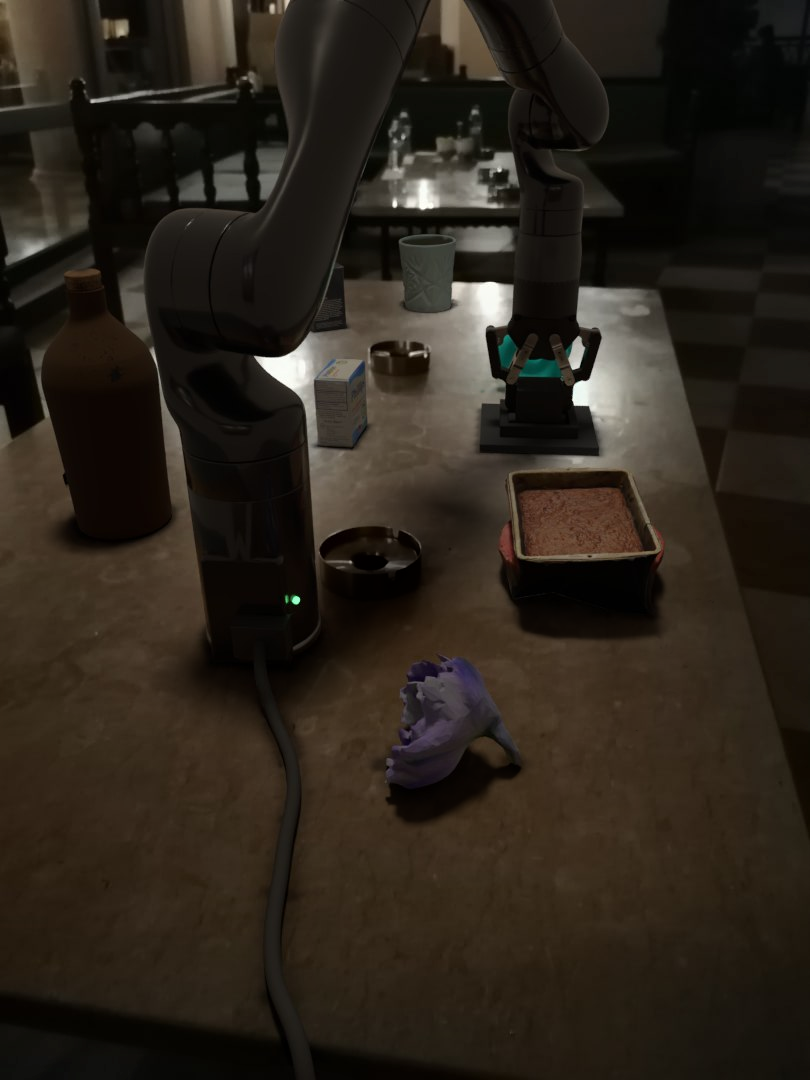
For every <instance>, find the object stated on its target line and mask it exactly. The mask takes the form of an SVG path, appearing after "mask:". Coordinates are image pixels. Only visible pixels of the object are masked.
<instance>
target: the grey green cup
mask: <svg viewBox="0 0 810 1080" xmlns="http://www.w3.org/2000/svg"><path fill="white" fill-rule="evenodd" d="M456 244H457V239H456V238H455V237H453V236H450V235H445V234H433V233H432V234H431V233H430V234H429V233H428V234H414V235H408V236H405V237H402V238H400V239H399V240H398V248H399V249H398V250H399V256H400V265H401V268H402V273H401V274H402V275H401V276H402V285H403V288H404V289H403V295H404V296H403V299H404V306H405V307H404V308H406V309H407V310H408V311H411V312H417V313H440V312H445V311H447V310H450V308H451V307H452V297H453V296H452V295H453V281H454V265H455V254H456V246H457V245H456Z"/></svg>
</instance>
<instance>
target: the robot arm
mask: <svg viewBox="0 0 810 1080" xmlns="http://www.w3.org/2000/svg"><path fill="white" fill-rule="evenodd" d="M462 1H463V3H464V5H465V6H466V7H467V9H468V11H469V13H470V14H471V16H472V18H473V20H474V22H475V24H476V26H477V28H478V29H479V31H480V34H481V36H482V39H483V40H484V43H485V44H486V46H487V49H488V51H489V53H490V55H491V57H492V59H493V61H494V63H495V66H496V68H497V69H498V71H499V73H500V75H501V78H502V79H503V80H504V81H505V82H506V83H507V85H509V86H510V87H512V88H514V89H515V90H514V91H513V93H512V95H511V98H510V101H509V104H508V110H507V130H508V137H509V141H510V147H511V151H512V156H513V160H514V161H513V162H514V166H515V172H516V177H517V183H518V187H519V213H518V214H519V216H518V217H519V218H518V232H517V239H516V245H515V249H514V261H513V269H514V270H513V287H512V288H513V289H512V306H511V307H512V309H511V317H510V319H509V321H508V323H507V324H508V325H507V324H506V325H500V326H494V325H492V324H490V325H487V326H486V328H485V342H486V348H487V355H488V362H489V366H490V373H491V377H492V378H493V379H495V380H501V381H503V382H504V384H505V391H504V399H505V405H506V408H510V413H515V412H516V394H517V378H518V376H519V374H520V372H521V370H522V369H523V368H524V366H525V364H526V362H527V360H528V359H529V360H538V359H545V360H551V361H555V359H556V360H557V363H558V365H559V368H560V370H561V373H562V379H561V384H562V387H563V392H564V394H563V406H562V414H566V410H570V409H571V407H572V401H573V396H574V395H573V394H574V387H575V385H576V384H577V383H579V382H582V381H583V382H588V381H589V380H590V379H591V376H592V373H593V369H594V366H595V364H596V359H597V357H598V353H599V350H600V347H601V343H602V339H603V336H602V333H601V331H600V329H599V327H592V328H589V327H584V326H580V324H579V322H578V317H577V316H578V303H579V294H580V293H579V292H580V283H581V271H582V270H581V268H582V256H583V245H582V244H583V243H582V230H583V218H584V205H585V184H584V182H583V180H582V179H581V178H580V177H579V176H577V175H574V174H572V173H569V172H567V171H565V170H563V169H560V167H558V165H557V164H556V162H555V159H554V156H553V152H552V151H567V152H581V151H586V150H589V149H591V148H593V147H594V146H595V145H596V144H598V143H599V141H600V140H601V139H602V138H603V136H604V134H605V132H606V129H607V127H608V123H609V119H610V103H609V99H608V95H607V91H606V88H605V87H604V84H603V82H602V80H601V78H600V77H599V75H598V74H597V73H596V71H595V69H594V67H592V65H590V63H589V62H588V61H587V59H585V56H583V55H582V53H581V52H580V51H579V49H578V48H577V47H576V45H574V43H573V42H572V41H571V40H570V39H569V38H568V37H567V35H566V33H565V31H564V28H563V25H562V23H561V21H560V17H559V15H558V13H557V12H558V11H557V10H556V7H555V4H554V2H553V0H462ZM431 3H432V0H289V1H288V3H287V5H286V7H285V10H284V13H283V15H282V17H281V19H280V22H279V25H278V28H277V31H276V35H275V39H274V48H273V61H274V72H275V73H274V75H275V79H276V85H277V90H278V94H279V99H280V102H281V107H282V112H283V116H284V119H285V124H286V130H287V148H286V152H285V155H284V159H283V161H282V166H281V168H280V171H279V174H278V176H277V179H276V181H275V184H274V186H273V187H272V190H271V192H270V194H269V196H268V198H267V200H266V202H265V203H264V204H263V206H262V207H261V208H260V209H259V210H258V211H257V212H252V211H241V210H233V209H231V210H230V209H220V208H219V209H217V208H206V207H185V208H179V209H176V210H174V211H172V212H169V213H168V214H166V215H165V216H164V217H163V218H161V220H160V221H159V222H158V223H157V224H156V226H155V227H154V229H153V231H152V232H151V235H150V237H149V240H148V242H147V246H146V250H145V254H144V262H143V293H144V294H143V295H144V302H145V303H144V304H145V310H146V315H147V321H148V322H147V323H148V327H149V331H150V337H151V342H152V347H153V351H154V356H155V362H156V366H157V370H158V377H159V382H160V386H161V392H162V397H163V399H164V403H165V406H166V409H167V411H168V413H169V415H170V417H171V418H172V419H173V421H174V423H175V424H176V426H177V428H178V431H179V439H180V444H181V450H182V451H181V452H182V458H183V465H184V471H185V473H184V474H185V478H186V487H187V496H188V504H189V510H190V518H191V524H192V532H193V538H194V546H195V553H196V554H195V555H196V560H197V567H198V576H199V583H200V591H201V598H202V605H203V611H204V618H205V633H206V640H207V643H208V646H209V648H210V649H211V652H212V659H213V661H214V662H217V663H237V664H253V673H254V681H255V685H256V690H257V692H258V695H259V699H260V701H261V704H262V707H263V709H264V712H265V716H266V718H267V721H268V723H269V726H270V729H271V731H272V733H273V735H274V738H275V741H276V743H277V744H278V747H279V749H280V751H281V755H282V757H283V760H284V765H285V772H286V795H285V803H284V808H283V813H282V816H281V817H282V818H281V823H280V827H279V832H278V835H277V841H276V847H275V854H274V855H275V856H274V862H273V870H272V875H271V882H270V886H269V892H268V896H267V897H268V898H267V903H266V910H265V916H264V923H263V924H264V925H263V937H262V939H263V941H262V942H263V943H262V947H263V949H262V951H263V967H264V976H265V980H266V987H267V989H268V993H269V997H270V999H271V1002H272V1005H273V1007H274V1010H275V1011H276V1012H275V1013H276V1015H277V1017H278V1020H279V1022H280V1024H281V1026H282V1029H283V1032H284V1034H285V1038H286V1040H287V1044H288V1048H289V1052H290V1056H291V1060H292V1066H293V1072H294V1078H295V1080H317V1079H316V1074H315V1067H314V1063H313V1056H312V1053H311V1049H310V1043H309V1039H308V1037H307V1033H306V1030H305V1027H304V1024H303V1022H302V1019H301V1016H300V1014H299V1012H298V1009H297V1006H296V1005H295V1002H294V1000H293V998H292V996H291V994H290V991H289V989H288V988H289V987H288V986H287V983H286V978H285V976H284V971H283V962H282V949H281V946H282V944H281V942H282V941H281V940H282V939H281V938H282V937H281V936H282V923H283V914H284V906H285V901H286V896H287V895H286V894H287V890H288V889H287V888H288V883H289V882H288V881H289V877H290V870H291V869H290V868H291V859H292V851H293V844H294V838H295V833H296V828H297V823H298V818H299V813H300V807H301V799H302V798H301V797H302V778H301V777H302V776H301V768H300V761H299V758H298V753H297V750H296V748H295V745H294V743H293V741H292V739H291V738H292V737H291V736H290V734H289V732H288V730H287V728H286V725H285V723H284V720H283V718H282V715H281V713H280V710H279V708H278V705H277V702H276V699H275V697H274V694H273V691H272V688H271V685H270V681H269V676H268V670H267V665H275V666H277V665H279V666H289V665H291V663H292V660H293V658H294V657H296V656H297V655H299V654H301V653H303V652H305V651H306V650H308V649H309V648H310V647H312V645H314V643H315V642H316V641H317V640H318V638H319V636H320V634H321V631H322V617H321V612H320V607H319V605H320V604H319V588H318V578H317V562H316V561H317V560H316V549H315V548H316V547H315V533H314V531H315V530H314V515H313V500H312V499H313V498H312V485H311V469H310V468H311V467H310V466H311V465H310V452H309V451H310V450H309V437H308V419H307V411H306V407H305V404H304V402H303V400H302V397H301V396H300V395H299V394H297V392H296V391H294V390H293V389H292V388H291V387H289V386H287V385H286V384H284V383H283V382H282V381H280V380H278V379H277V378H276V377H274V376H273V375H272V374H270V373H269V372H268V371H267V370H266V369H265V368H264V367H263V366H262V365H261V363H259V361H258V360H257V358H267V359H268V358H269V359H270V358H271V359H275V358H276V359H277V358H282V357H286V356H288V355H289V354H291V353H294V351H296V350H297V349H298V348H299V347H300V346H301V345H302V344H303V342H304V341H305V340H307V337H308V335H310V333H311V331H312V330H311V329H312V327H313V325H314V323H315V321H316V319H317V316H318V314H319V312H320V309H321V307H322V304H323V301H324V298H325V295H326V292H327V289H328V286H329V282H330V279H331V276H332V273H333V269H334V266H335V262H336V263H337V258H338V255H339V251H340V248H341V244H342V240H343V238H344V234H345V230H346V227H347V223H348V219H349V216H350V213H351V209H352V206H353V204H354V200H355V197H356V194H357V190H358V188H359V185H360V182H361V179H362V176H363V173H364V170H365V168H366V166H367V162H368V161H369V160H368V159H369V156H370V154H371V152H372V149H373V147H374V144H375V142H376V139H377V136H378V134H379V130H380V128H381V126H382V123H383V120H384V118H385V115H386V113H387V110H388V109H389V107H390V104H391V101H392V100H393V97H394V95H395V93H396V91H397V89H398V87H399V85H400V82H401V80H402V77H403V75H404V73H405V70H406V68H407V65H408V62H409V59H410V57H411V56H412V53H413V50H414V48H415V45H416V42H417V40H418V37H419V34H420V31H421V28H422V25H423V22H424V21H425V17H426V14H427V13H428V12H427V11H428V9H429V7H430V4H431ZM506 335H509V336H510V338H511V339H512V341H513V342H514V344H515V345H516V347H517V350H516V352H515V354H514V356H513V359H512V362H511V364H510V366H509V368H506V367H503V366H501V360H500V354H499V347H498V346H501V345H502V344H503V342H504V337H505V336H506ZM578 337H579V338H581V339H580V340H581V346H582V347H583V348H584V350H583V353H582V356H581V360H580V364H579V367H577V368H574V369H573V368H572V366H571V361H570V359H569V358H568V356H567V353H566V350H567V349H568V348H569V346H570V345H571V344H572V343H574V342H575V341H576V339H578ZM572 345H573V344H572ZM256 357H257V358H256Z"/></svg>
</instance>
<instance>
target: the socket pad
mask: <svg viewBox="0 0 810 1080" xmlns="http://www.w3.org/2000/svg"><path fill="white" fill-rule="evenodd" d="M480 413H481V414H480V430H479V431H480V433H479V449H478V450H479V453H502V454H503V453H504V454H536V455H537V454H538V455H571V456H572V455H573V456H574V455H575V456H577V455H578V456H599V455H600V445H599V439H598V436H597V433H596V432H597V431H596V428H595V425H594V421H593V415H592V412H591V408H590V405H575V404H574V401H573V400H572V407H571V409H570V410H566V414H562V418H561V423H529V422H515V413H510V408H506V405H505V398H500V399H499V403H488V402H487V403H485V402H484V403H483V402H481V411H480Z"/></svg>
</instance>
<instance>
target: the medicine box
mask: <svg viewBox="0 0 810 1080" xmlns="http://www.w3.org/2000/svg"><path fill="white" fill-rule="evenodd" d="M366 380H367V379H366V361H365V360H363V359H353V358H332V359H331V360H330V361H329V363H327V365H326V366H325V367H324V368H323V369H322V370H321V371H320V372H319V373H318V374H317V376H315V378H314V379H313V393H314V407H315V419H316V420H315V421H316V432H317V444H318V446H322V447H323V446H325V447H337V448H354V445H355V443H357V440H358V439H359V437H360V436H361V434H362V433H363V431H364V430H365V428H366V427H367V425H368V405H367V404H368V403H367V401H368V400H367V381H366Z"/></svg>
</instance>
